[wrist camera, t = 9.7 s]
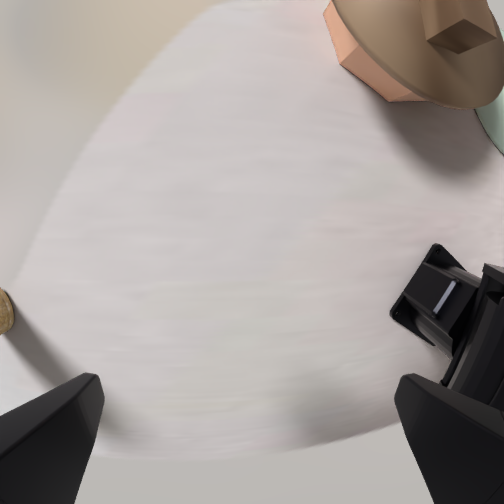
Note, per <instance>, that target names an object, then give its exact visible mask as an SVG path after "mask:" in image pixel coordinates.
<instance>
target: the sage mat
mask: <svg viewBox="0 0 504 504" xmlns="http://www.w3.org/2000/svg"><path fill="white" fill-rule="evenodd" d="M499 29H500V28H499ZM500 31H501V34H502V37H503V41H504V31H503V30H501V29H500ZM475 111H476V113H477V115H478V117H479V119H480V121H481V123H482V125H483V127H484V129H485V131H486V132H487V134H488V136H489V137H490V139H491V140H492V142H493V143H494V144H495V145H496V147H497V148H498V149H499V150H500V151H501V152H502V153H503V154H504V87H503V90H502V91H501V93H500V94H499V96H498V97H497V98H496V99H495V100H494V101H493V102H491V103H489V104H488V105H486V106H482V107H479V108H475Z"/></svg>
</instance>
